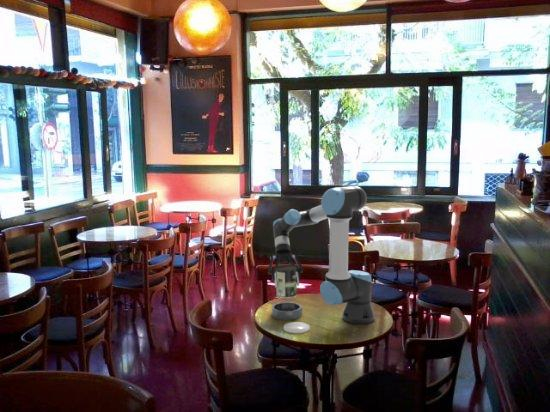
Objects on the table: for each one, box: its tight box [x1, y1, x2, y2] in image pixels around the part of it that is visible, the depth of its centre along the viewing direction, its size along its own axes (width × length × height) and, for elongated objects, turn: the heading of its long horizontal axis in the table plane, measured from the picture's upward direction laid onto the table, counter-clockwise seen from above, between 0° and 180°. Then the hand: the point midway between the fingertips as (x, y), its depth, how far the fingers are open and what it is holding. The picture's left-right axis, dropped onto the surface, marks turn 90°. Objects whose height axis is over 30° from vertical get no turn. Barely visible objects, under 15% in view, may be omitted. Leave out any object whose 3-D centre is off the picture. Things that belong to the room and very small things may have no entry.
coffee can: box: [275, 264, 298, 300], centre depth 259 cm, size 10×10×14 cm
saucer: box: [283, 321, 311, 335], centre depth 243 cm, size 12×12×1 cm
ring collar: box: [271, 301, 303, 321], centre depth 261 cm, size 14×14×4 cm
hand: (287, 285), depth 256 cm, fingers closed on coffee can, 10 cm apart
